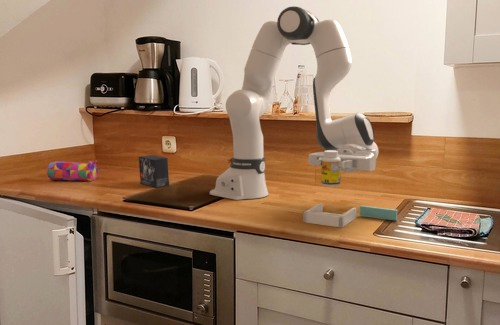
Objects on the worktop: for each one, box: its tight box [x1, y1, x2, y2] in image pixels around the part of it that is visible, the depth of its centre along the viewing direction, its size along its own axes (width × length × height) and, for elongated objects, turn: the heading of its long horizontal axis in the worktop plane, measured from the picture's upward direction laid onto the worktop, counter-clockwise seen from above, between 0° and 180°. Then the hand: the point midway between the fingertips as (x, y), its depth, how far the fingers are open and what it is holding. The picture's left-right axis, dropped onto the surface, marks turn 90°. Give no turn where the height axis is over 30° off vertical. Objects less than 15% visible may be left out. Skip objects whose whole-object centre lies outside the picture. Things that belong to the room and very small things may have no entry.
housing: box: [302, 203, 358, 229], centre depth 138 cm, size 12×12×3 cm
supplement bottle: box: [320, 150, 342, 188], centre depth 136 cm, size 6×6×10 cm
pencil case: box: [46, 160, 101, 182], centre depth 208 cm, size 22×9×9 cm, turn 85°
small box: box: [138, 154, 170, 189], centre depth 194 cm, size 13×7×12 cm, turn 42°
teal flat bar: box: [359, 205, 398, 221], centre depth 138 cm, size 11×1×3 cm, turn 58°
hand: (329, 164), depth 135 cm, fingers closed on supplement bottle, 6 cm apart
